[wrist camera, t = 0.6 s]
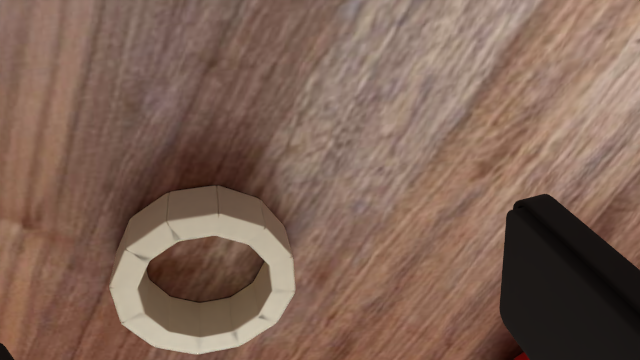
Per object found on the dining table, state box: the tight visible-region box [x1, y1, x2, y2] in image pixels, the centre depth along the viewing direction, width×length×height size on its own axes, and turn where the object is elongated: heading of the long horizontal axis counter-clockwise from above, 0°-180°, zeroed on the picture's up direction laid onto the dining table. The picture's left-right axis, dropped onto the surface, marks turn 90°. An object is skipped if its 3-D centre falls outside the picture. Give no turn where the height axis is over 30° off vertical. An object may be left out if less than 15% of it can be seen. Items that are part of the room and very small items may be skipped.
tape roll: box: [109, 185, 296, 354], centre depth 24 cm, size 8×8×2 cm
